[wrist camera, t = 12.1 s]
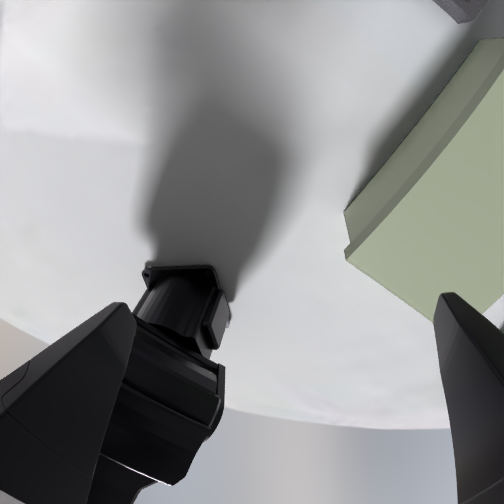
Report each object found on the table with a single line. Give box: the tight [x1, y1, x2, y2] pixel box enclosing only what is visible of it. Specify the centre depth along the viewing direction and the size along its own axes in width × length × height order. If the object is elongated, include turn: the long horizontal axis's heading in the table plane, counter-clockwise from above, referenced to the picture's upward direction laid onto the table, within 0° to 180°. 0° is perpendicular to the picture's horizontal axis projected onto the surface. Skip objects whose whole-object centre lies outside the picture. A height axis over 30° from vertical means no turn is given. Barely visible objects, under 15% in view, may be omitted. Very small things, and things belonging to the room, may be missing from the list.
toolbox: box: [344, 38, 504, 323], centre depth 14 cm, size 17×11×6 cm, turn 148°
